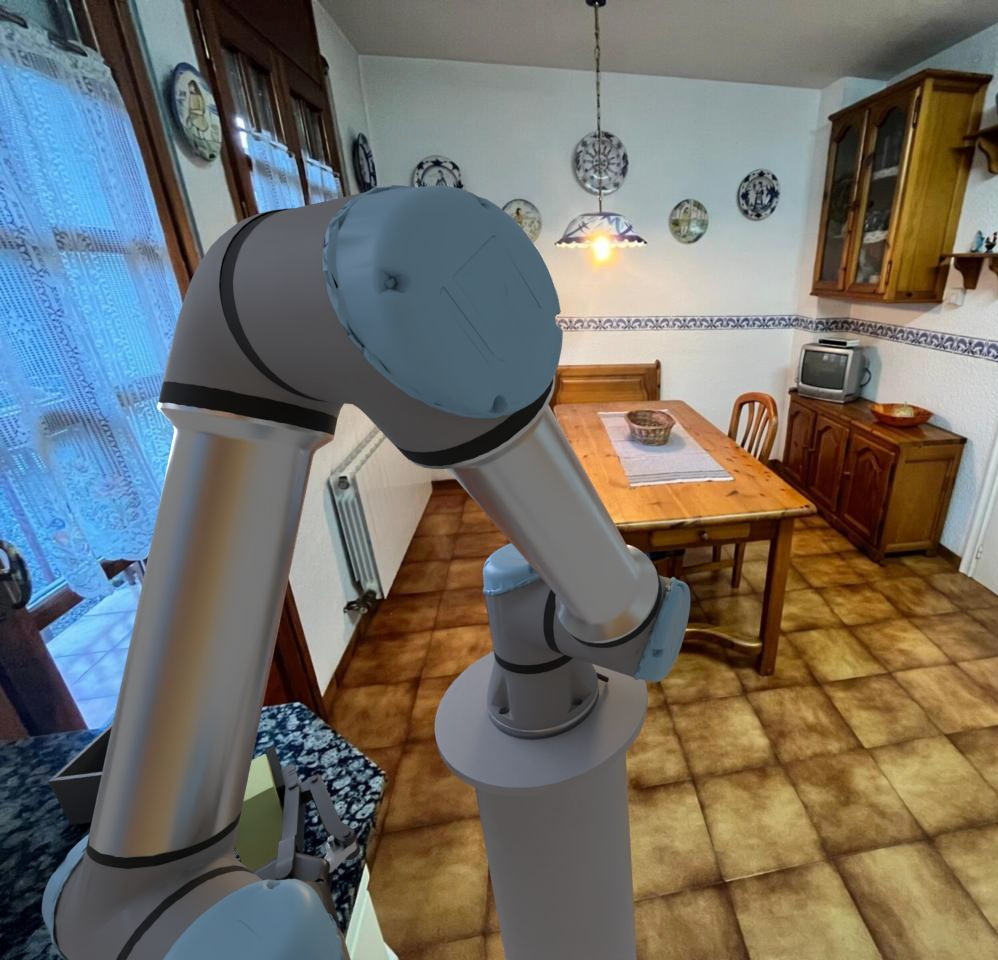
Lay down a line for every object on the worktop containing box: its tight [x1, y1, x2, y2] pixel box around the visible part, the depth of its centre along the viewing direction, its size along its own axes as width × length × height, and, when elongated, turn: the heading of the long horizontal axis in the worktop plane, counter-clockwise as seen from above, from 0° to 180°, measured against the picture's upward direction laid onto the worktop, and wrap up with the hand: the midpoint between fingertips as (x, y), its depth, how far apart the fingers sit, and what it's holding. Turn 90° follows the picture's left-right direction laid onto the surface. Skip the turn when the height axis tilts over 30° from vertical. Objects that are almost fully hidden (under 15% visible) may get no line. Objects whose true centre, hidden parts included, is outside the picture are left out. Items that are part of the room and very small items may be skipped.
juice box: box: [235, 753, 283, 871], centre depth 50 cm, size 4×5×14 cm
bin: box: [47, 722, 113, 826], centre depth 62 cm, size 10×10×6 cm
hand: (246, 770), depth 54 cm, fingers closed on juice box, 4 cm apart
